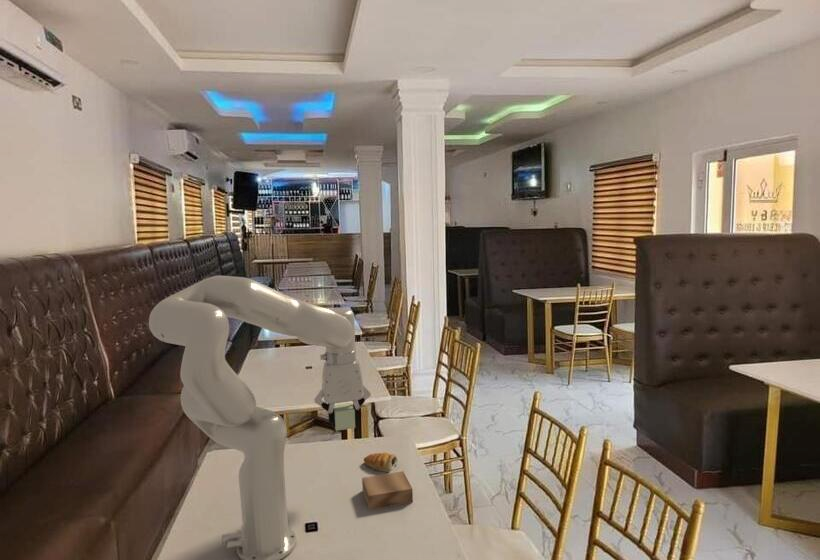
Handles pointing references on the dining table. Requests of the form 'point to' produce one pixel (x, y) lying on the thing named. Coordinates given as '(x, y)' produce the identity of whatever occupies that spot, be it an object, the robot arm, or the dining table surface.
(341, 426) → the green cube
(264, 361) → the dining table surface
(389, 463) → the pastry
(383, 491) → the walnut block
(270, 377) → the dining table surface
